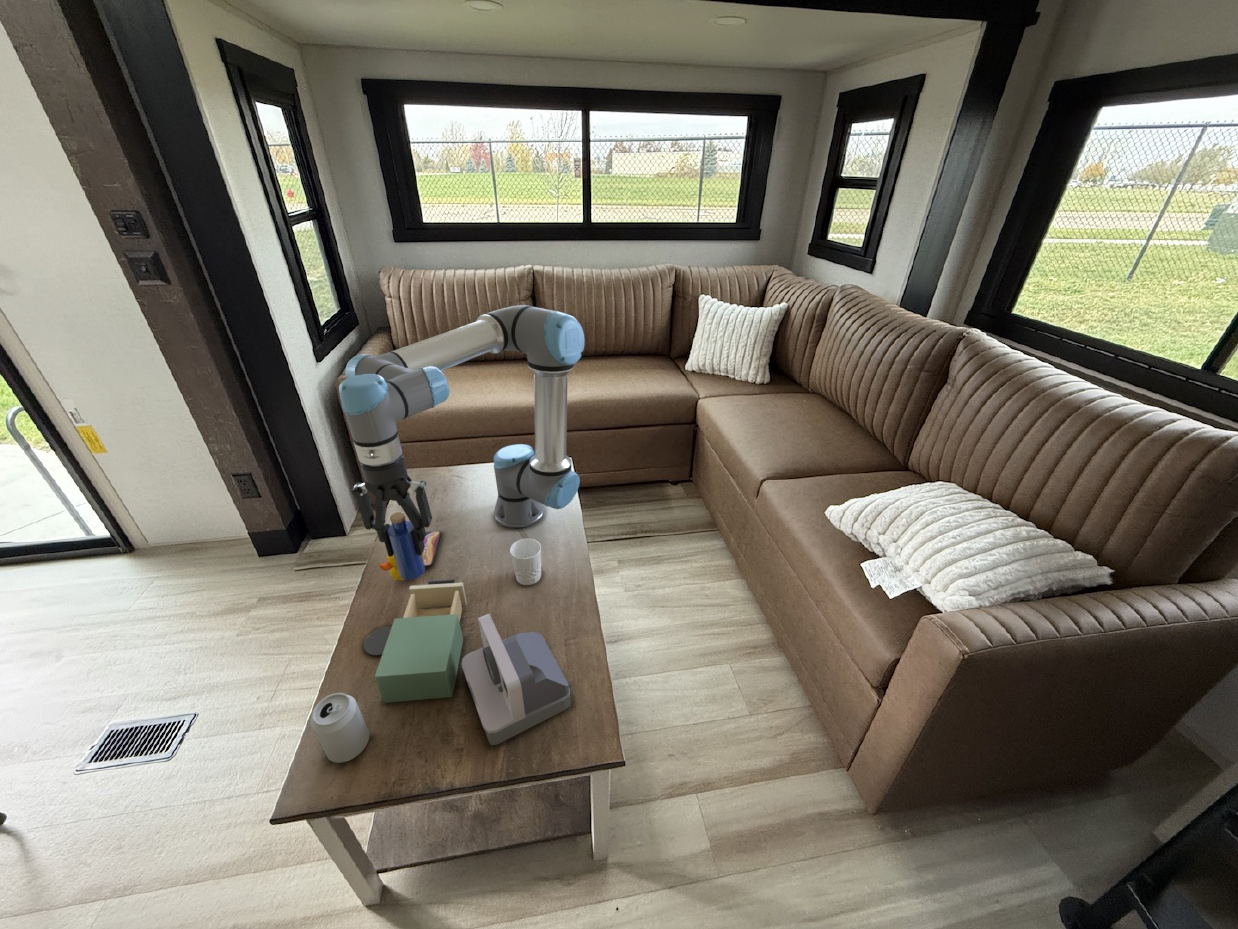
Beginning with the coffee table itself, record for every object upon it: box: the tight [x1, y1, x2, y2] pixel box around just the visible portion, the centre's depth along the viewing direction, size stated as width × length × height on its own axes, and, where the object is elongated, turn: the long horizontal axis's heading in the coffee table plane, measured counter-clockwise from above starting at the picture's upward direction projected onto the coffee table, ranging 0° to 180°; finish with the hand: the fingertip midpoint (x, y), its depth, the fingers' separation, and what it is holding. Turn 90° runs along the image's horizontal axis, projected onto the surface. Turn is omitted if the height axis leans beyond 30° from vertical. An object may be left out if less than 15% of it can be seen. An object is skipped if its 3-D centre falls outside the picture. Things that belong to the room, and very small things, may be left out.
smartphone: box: [423, 530, 442, 568], centre depth 141 cm, size 8×1×15 cm
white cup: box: [509, 537, 542, 586], centre depth 131 cm, size 8×8×10 cm
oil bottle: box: [387, 511, 426, 581], centre depth 104 cm, size 5×5×15 cm
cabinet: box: [374, 614, 464, 704], centre depth 107 cm, size 15×14×9 cm
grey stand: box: [461, 613, 572, 746], centre depth 101 cm, size 21×21×15 cm
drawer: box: [402, 578, 468, 622], centre depth 118 cm, size 18×12×7 cm
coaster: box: [363, 625, 392, 657], centre depth 115 cm, size 8×8×1 cm
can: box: [309, 692, 370, 764], centre depth 91 cm, size 8×8×12 cm
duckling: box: [379, 553, 424, 581], centre depth 129 cm, size 11×5×10 cm, turn 144°
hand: (406, 551), depth 105 cm, fingers closed on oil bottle, 5 cm apart
